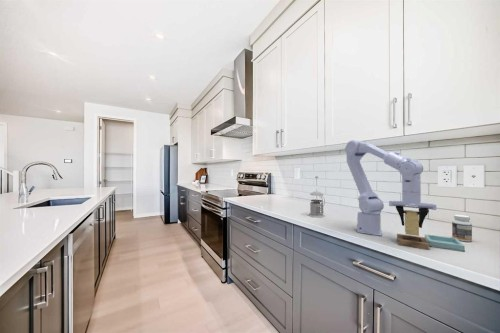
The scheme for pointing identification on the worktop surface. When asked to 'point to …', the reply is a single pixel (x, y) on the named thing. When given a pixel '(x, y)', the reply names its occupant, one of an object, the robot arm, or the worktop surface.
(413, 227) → the brass pin
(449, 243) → the tray
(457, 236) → the pill bottle
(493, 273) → the worktop surface
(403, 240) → the holder block
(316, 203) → the french press
